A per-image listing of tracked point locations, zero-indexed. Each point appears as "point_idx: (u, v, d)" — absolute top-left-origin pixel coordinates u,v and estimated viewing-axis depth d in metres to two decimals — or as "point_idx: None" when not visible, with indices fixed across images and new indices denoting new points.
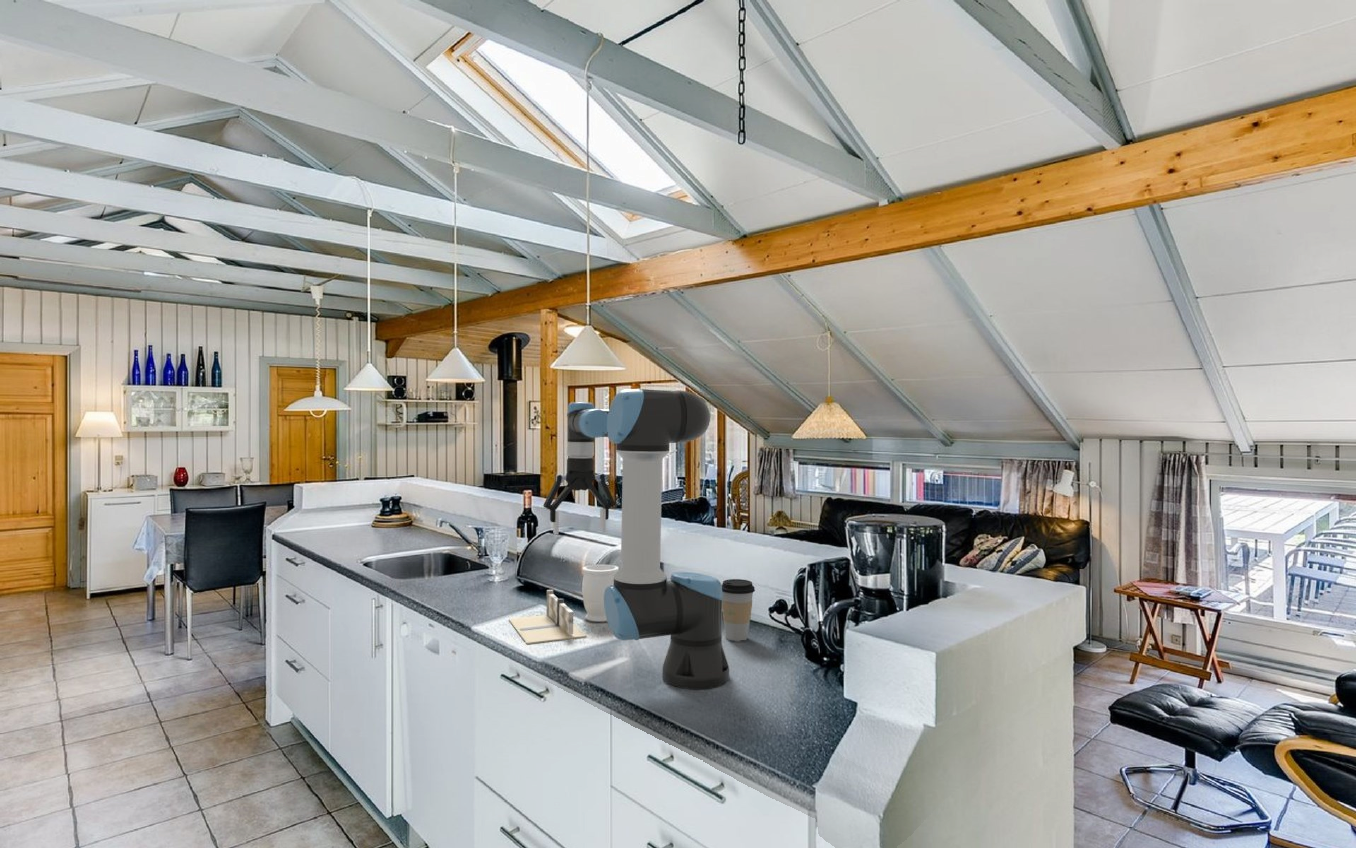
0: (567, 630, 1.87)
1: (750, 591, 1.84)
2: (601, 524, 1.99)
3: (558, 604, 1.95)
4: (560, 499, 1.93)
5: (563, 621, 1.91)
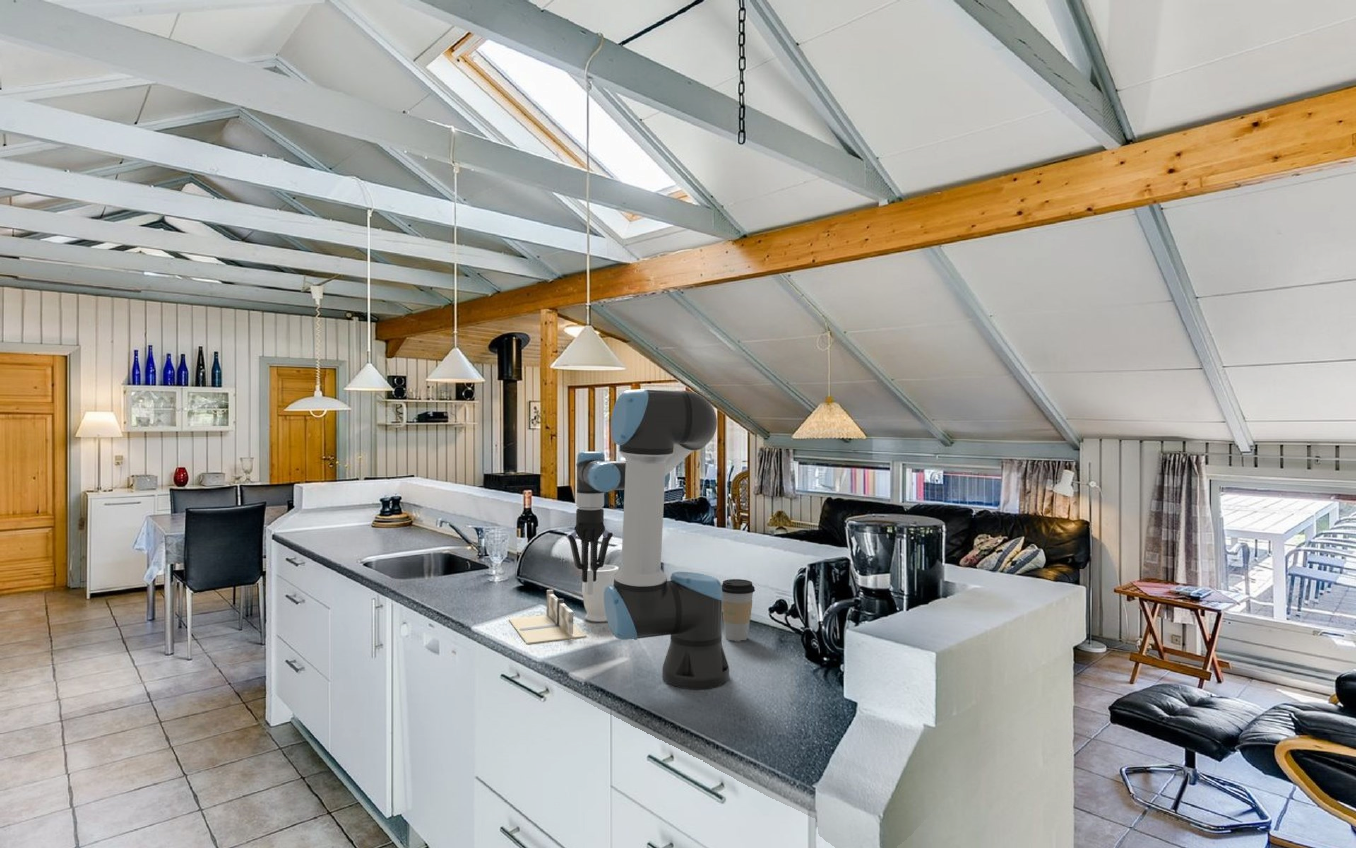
0: (567, 630, 1.87)
1: (750, 591, 1.84)
2: None
3: (558, 604, 1.95)
4: (585, 557, 1.90)
5: (563, 621, 1.91)
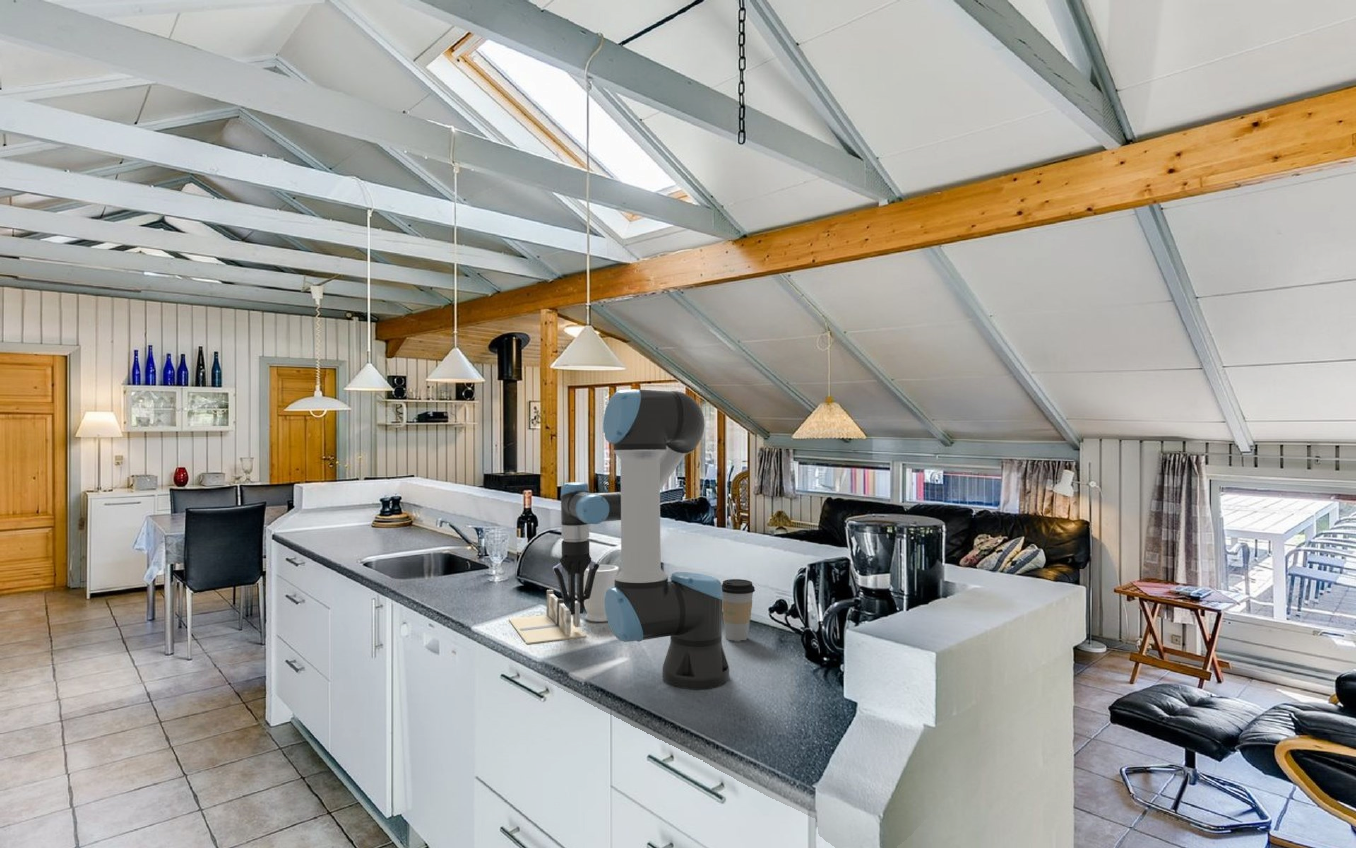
0: (565, 630, 1.87)
1: (750, 591, 1.84)
2: None
3: (558, 604, 1.95)
4: (572, 590, 1.89)
5: (562, 621, 1.91)
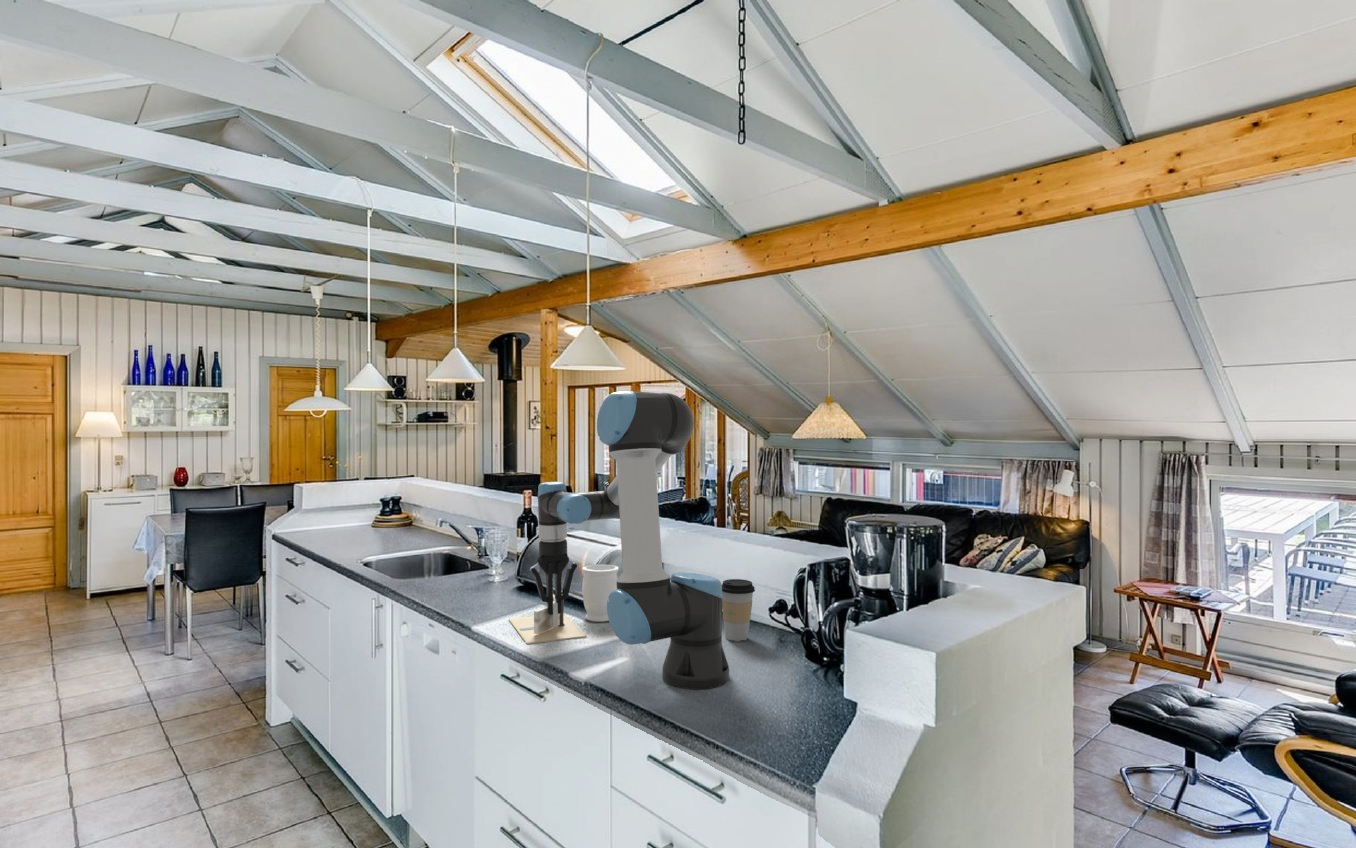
0: None
1: (750, 591, 1.84)
2: None
3: None
4: (549, 590, 1.88)
5: None
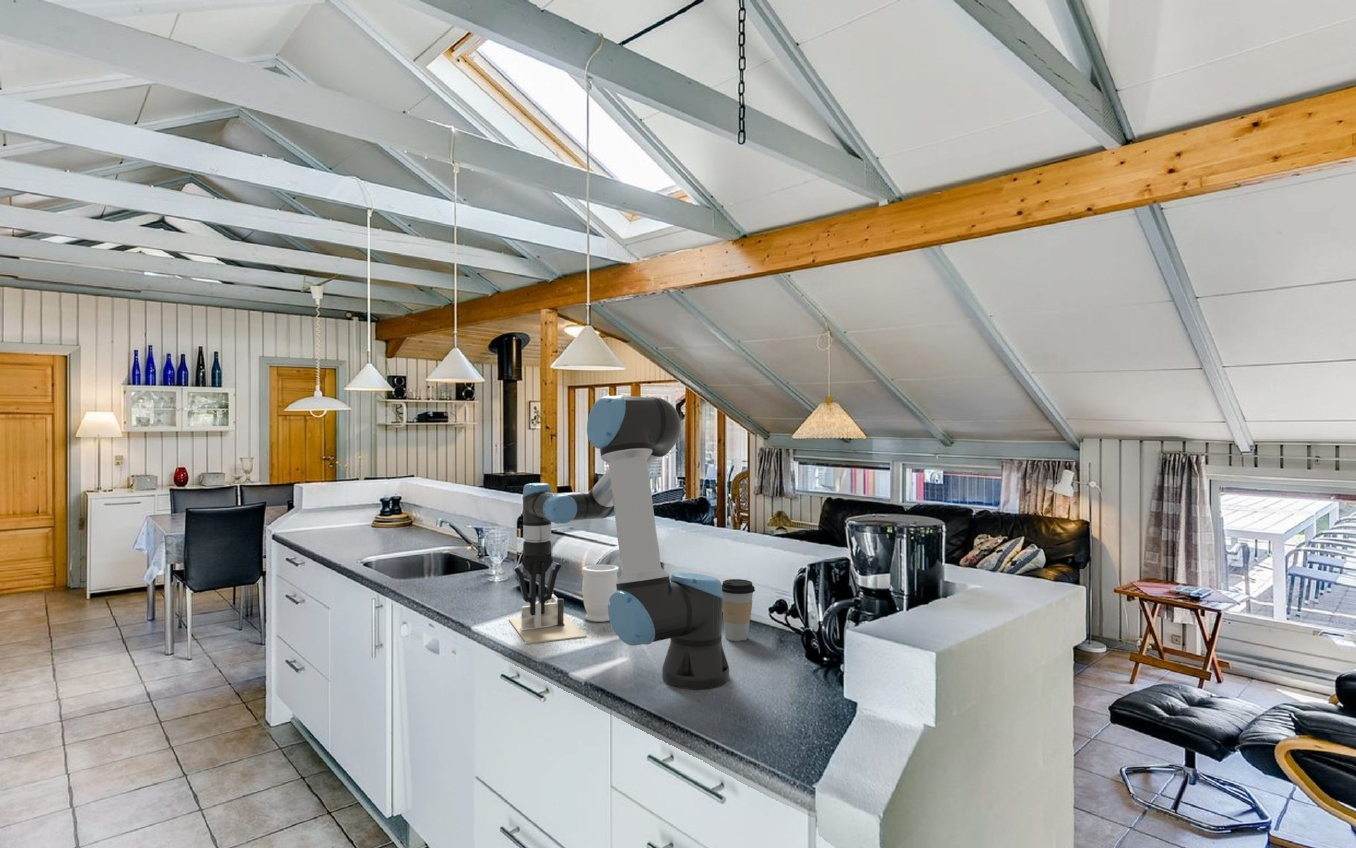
0: None
1: (750, 591, 1.84)
2: None
3: None
4: (532, 590, 1.89)
5: None
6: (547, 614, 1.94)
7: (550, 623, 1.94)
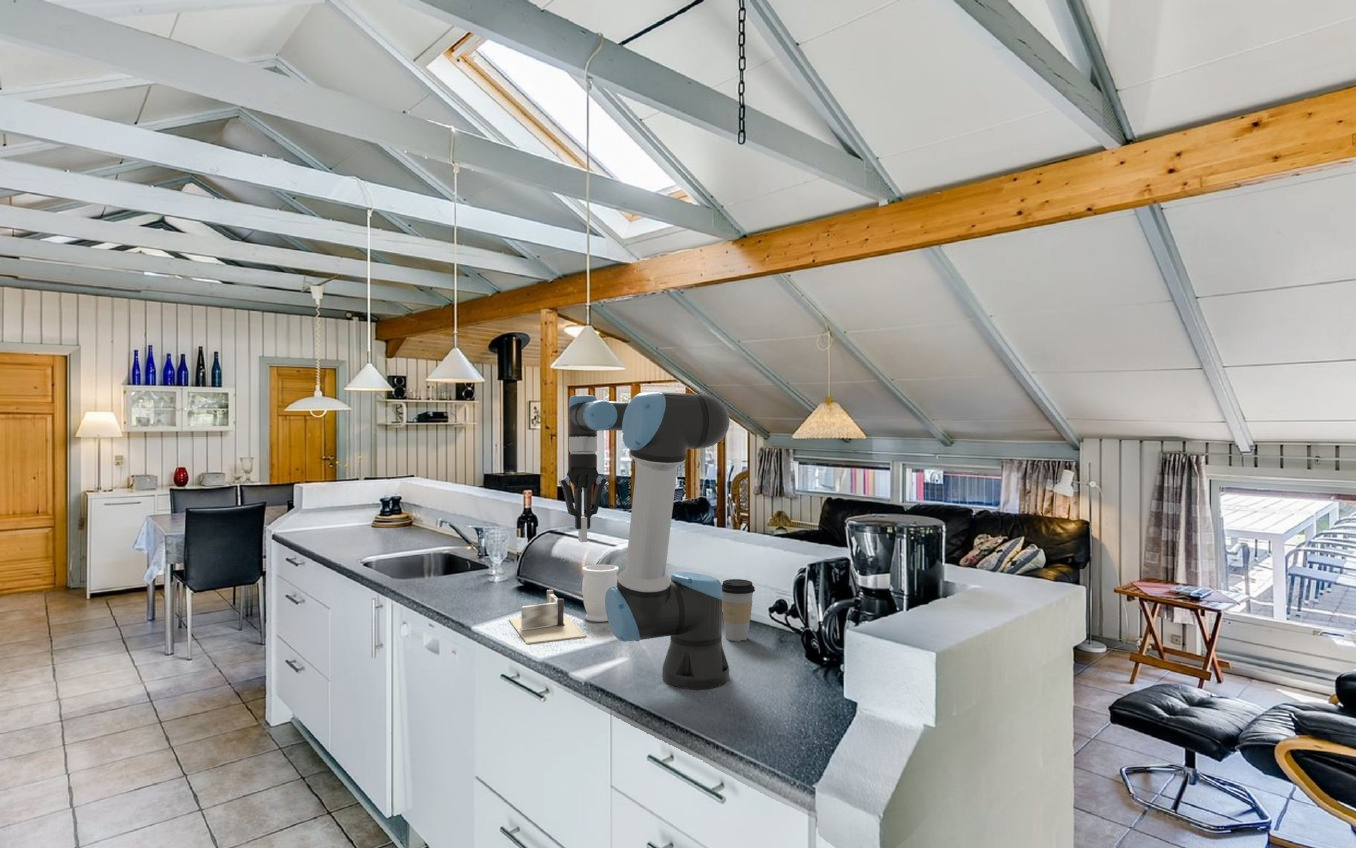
0: None
1: (750, 591, 1.84)
2: None
3: None
4: (578, 503, 1.85)
5: None
6: (547, 614, 1.94)
7: (550, 623, 1.94)
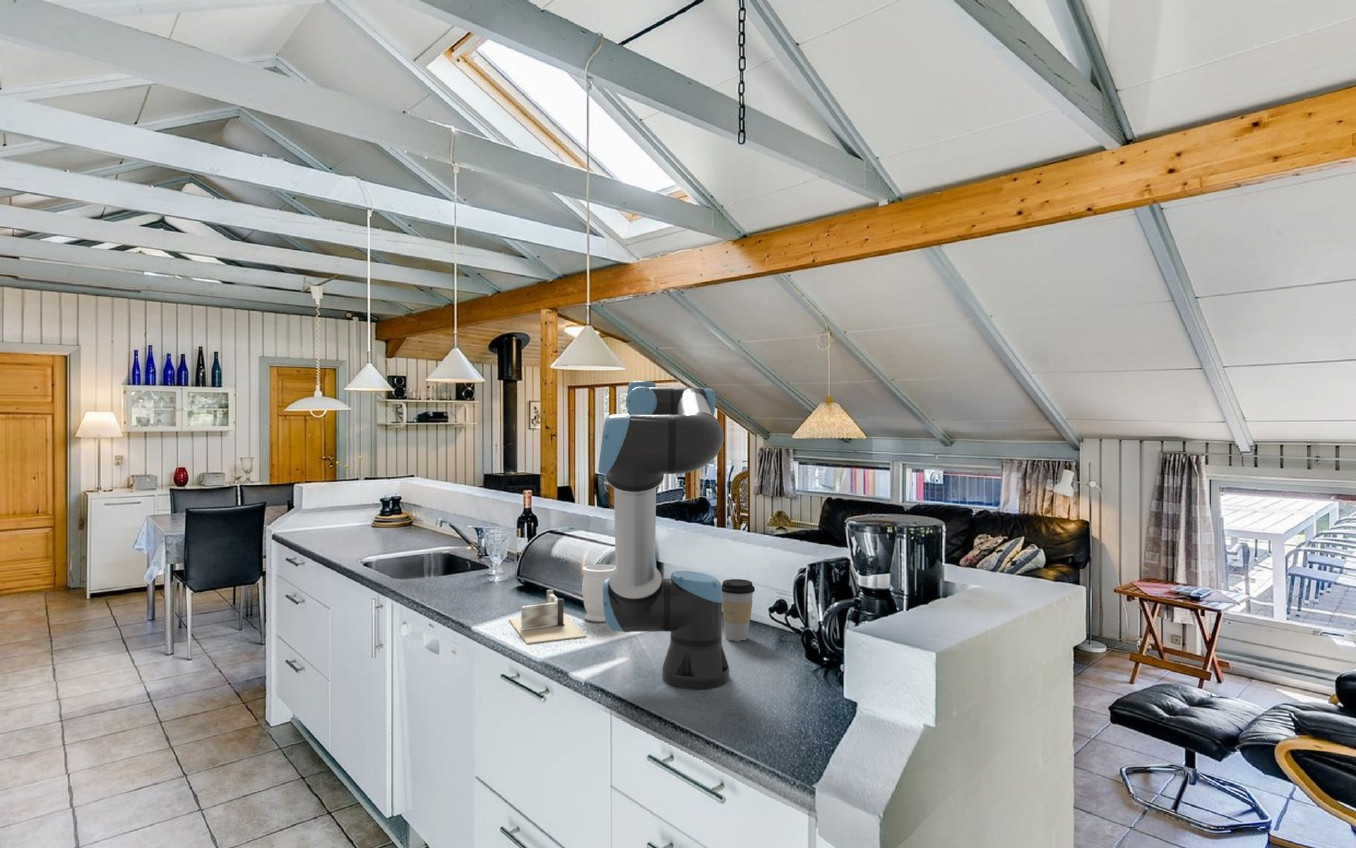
0: None
1: (750, 591, 1.84)
2: None
3: None
4: None
5: None
6: (547, 614, 1.94)
7: (550, 623, 1.94)
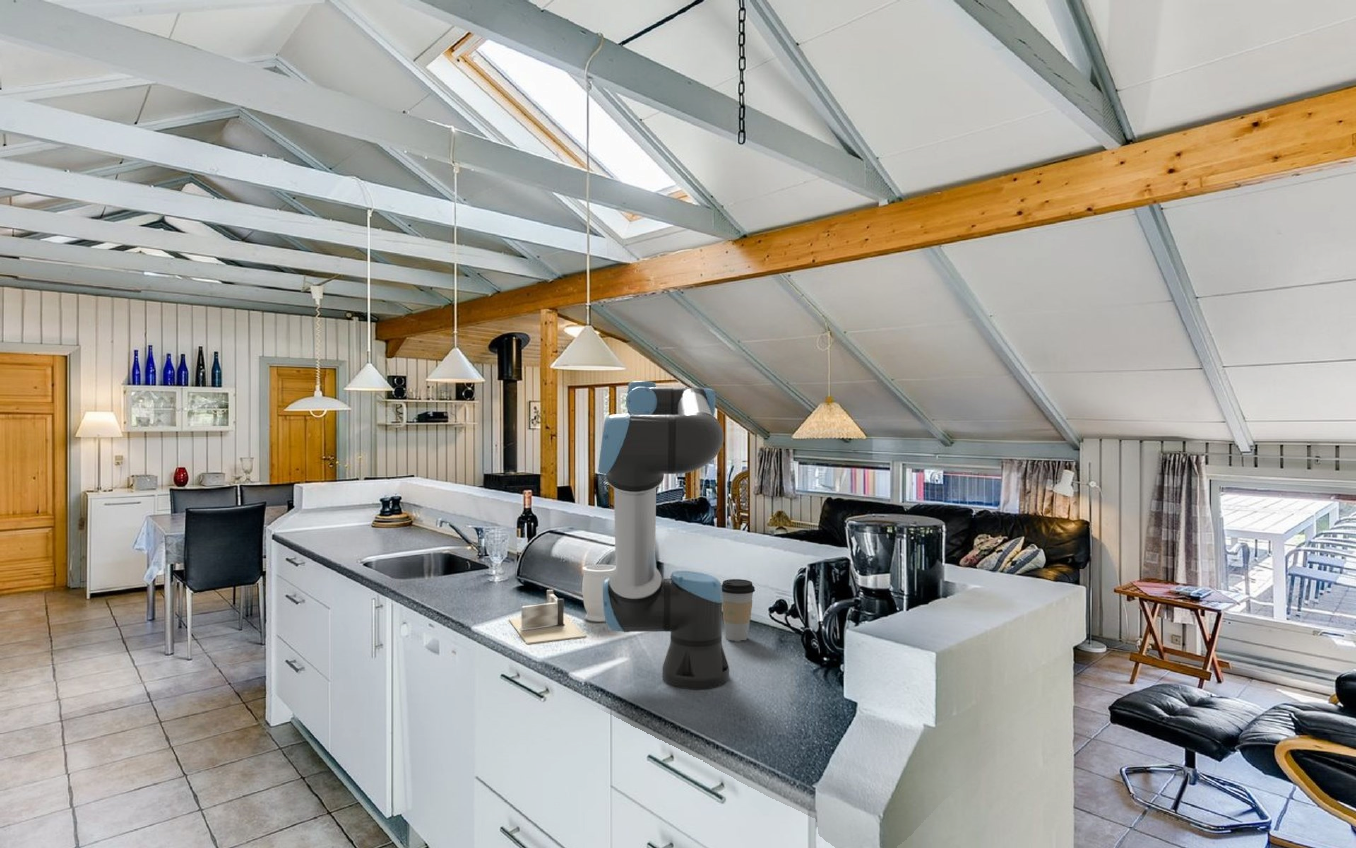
0: None
1: (750, 591, 1.84)
2: None
3: None
4: None
5: None
6: (547, 614, 1.94)
7: (550, 623, 1.94)
